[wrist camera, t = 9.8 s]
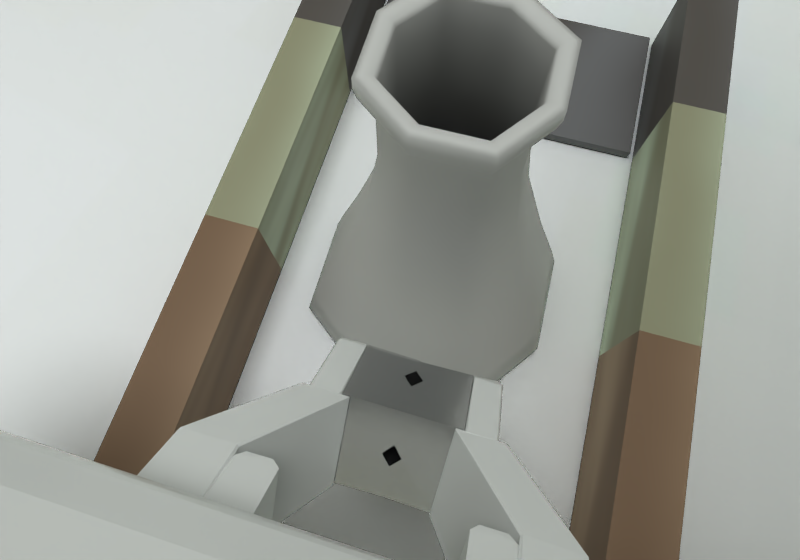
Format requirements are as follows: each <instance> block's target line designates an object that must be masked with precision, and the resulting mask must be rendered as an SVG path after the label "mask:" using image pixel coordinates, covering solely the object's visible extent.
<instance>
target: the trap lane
mask: <svg viewBox="0 0 800 560" xmlns="http://www.w3.org/2000/svg"><path fill="white" fill-rule="evenodd" d="M392 1H394V0H388V2H387V4H389V3H390V2H392ZM738 2H739V0H677V2H676V4H675V5H674V7H673V9H672V11H671V12H670V14H669V16H668V18H667V19H666V21H665V23H664V25H663V27H662V28H661V30H660V32H659V34H658V35H657V37H656V39H655V41H654V42H653V44H652V47H651V53H650V59H649V65H648V71H647V77H646V83H645V89H644V95H643V101H642V106H641V112H640V118H639V124H638V130H637V136H636V142H635V148H634V154H633V159H632V165H631V171H630V177H629V183H628V189H627V195H626V201H625V207H624V213H623V218H622V224H621V230H620V236H619V242H618V248H617V254H616V260H615V266H614V271H613V277H612V283H611V289H610V295H609V301H608V307H607V313H606V319H605V325H604V330H603V336H602V342H601V348H600V354H599V360H598V366H597V372H596V378H595V383H594V389H593V395H592V401H591V407H590V413H589V419H588V425H587V431H586V437H585V442H584V448H583V454H582V460H581V466H580V472H579V478H578V484H577V490H576V495H575V501H574V507H573V513H572V519H571V525H570V532H571V533H572V535H573V536H574V537H575V539H576V540H577V542H578V543H579V544H580V546H581V547H582V549H583V550H584V551H585V553H586V554H587V555H588V557H589V560H679V552H680V543H681V534H682V524H683V515H684V506H685V496H686V487H687V478H688V468H689V459H690V450H691V440H692V431H693V422H694V412H695V403H696V394H697V384H698V375H699V366H700V356H701V347H702V338H703V328H704V319H705V310H706V300H707V291H708V282H709V272H710V263H711V254H712V244H713V235H714V226H715V216H716V207H717V198H718V188H719V179H720V170H721V160H722V151H723V142H724V132H725V123H726V114H727V104H728V95H729V86H730V76H731V67H732V58H733V48H734V39H735V30H736V20H737V11H738ZM384 3H385V0H302V1H301V4H300V6H299V8H298V10H297V13H296V15H295V17H294V19H293V21H292V24H291V26H290V28H289V30H288V32H287V35H286V37H285V39H284V41H283V44H282V46H281V48H280V50H279V52H278V55H277V57H276V59H275V61H274V63H273V66H272V68H271V70H270V72H269V74H268V77H267V79H266V81H265V83H264V86H263V88H262V90H261V92H260V94H259V97H258V99H257V101H256V103H255V105H254V108H253V110H252V112H251V114H250V117H249V119H248V121H247V123H246V125H245V128H244V130H243V132H242V134H241V136H240V139H239V141H238V143H237V145H236V147H235V150H234V152H233V154H232V156H231V159H230V161H229V163H228V165H227V167H226V170H225V172H224V174H223V176H222V178H221V181H220V183H219V185H218V187H217V190H216V192H215V194H214V196H213V198H212V201H211V203H210V205H209V207H208V209H207V212H206V214H205V216H204V218H203V220H202V223H201V225H200V227H199V229H198V232H197V234H196V236H195V238H194V240H193V243H192V245H191V247H190V249H189V251H188V254H187V256H186V258H185V260H184V263H183V265H182V267H181V269H180V271H179V274H178V276H177V278H176V280H175V282H174V285H173V287H172V289H171V291H170V293H169V296H168V298H167V300H166V302H165V305H164V307H163V309H162V311H161V313H160V316H159V318H158V320H157V322H156V324H155V327H154V329H153V331H152V333H151V336H150V338H149V340H148V342H147V344H146V347H145V349H144V351H143V353H142V355H141V358H140V360H139V362H138V364H137V366H136V369H135V371H134V373H133V375H132V378H131V380H130V382H129V384H128V386H127V389H126V391H125V393H124V395H123V397H122V400H121V402H120V404H119V406H118V409H117V411H116V413H115V415H114V417H113V420H112V422H111V424H110V426H109V428H108V431H107V433H106V435H105V437H104V439H103V442H102V444H101V446H100V448H99V451H98V453H97V455H96V457H95V459H94V461H95V462H98V463H101V464H104V465H107V466H110V467H113V468H116V469H119V470H122V471H125V472H128V473H131V474H134V475H138V474H139V472H140V471H141V470H142V469H143V468H144V467H145V466H146V465H147V463H148V462H149V461H150V460H151V459H152V458H153V457H154V456H155V455H156V453H157V452H158V451H159V450H160V449H161V448H162V447H163V446H164V444H165V443H166V442H167V441H168V440H169V439H170V438H171V437H172V436H173V434H174V433H175V432H176V431H177V430H178V429H179V428H180V427H182V426H185V425H188V424H190V423H193V422H196V421H198V420H201V419H204V418H207V417H209V416H212V415H215V414H218V413H220V412H223V411H226V410H227V409H228V407H229V404H230V401H231V399H232V396H233V394H234V391H235V388H236V386H237V383H238V381H239V378H240V376H241V373H242V370H243V368H244V365H245V363H246V360H247V357H248V355H249V352H250V350H251V347H252V344H253V342H254V339H255V337H256V334H257V331H258V329H259V326H260V324H261V321H262V319H263V316H264V313H265V311H266V308H267V306H268V303H269V300H270V298H271V295H272V293H273V290H274V287H275V285H276V282H277V280H278V277H279V275H280V272H281V269H282V267H283V264H284V262H285V259H286V256H287V254H288V251H289V249H290V246H291V243H292V241H293V238H294V236H295V233H296V231H297V228H298V225H299V223H300V220H301V218H302V215H303V212H304V210H305V207H306V205H307V202H308V199H309V197H310V194H311V192H312V189H313V186H314V184H315V181H316V179H317V176H318V174H319V171H320V168H321V166H322V163H323V161H324V158H325V155H326V153H327V150H328V148H329V145H330V142H331V140H332V137H333V135H334V132H335V130H336V127H337V124H338V122H339V119H340V117H341V114H342V111H343V109H344V106H345V104H346V101H347V98H348V96H349V93H350V91H351V88H352V81H351V78H352V75H353V72H354V70H355V67H356V64H357V61H358V59H359V56H360V53H361V51H362V48H363V45H364V43H365V40H366V37H367V35H368V32H369V29H370V27H371V24H372V21H373V19H374V16H375V13H376V11H377V10H379V9H380V8H382V7H383V5H384ZM558 19H559V18H558ZM559 20H560V21H561V22H562V23H563V24H564V25H565V26H567V27H568V28H569V29H570V30H571V31H572V32H573V33H574V34H575V35H577V36H578V37H579V38H580V39H581V40H582V42H581V47H580V52H579V56H578V61H577V66H576V71H575V76H574V80H573V85H572V90H571V95H570V100H569V104H568V109H567V113H566V115H565V118H564V121H563V122H562V123H561V124H560V125H559V126H558V127H557V128H556V129H555V130H554V131H553V132H551V133H550V134H548V135H547V136H546V137H544V138H546V139H550V140H554V141H558V142H563V143H567V144H571V145H575V146H580V147H584V148H588V149H592V150H596V151H601V152H605V153H609V154H613V155H618V156H622V157H626V158H627V156H628V155H629V153H630V150H631V144H632V138H633V132H634V127H635V121H636V115H637V109H638V103H639V98H640V92H641V86H642V80H643V74H644V69H645V63H646V57H647V51H648V45H649V40H650V38H648V37H643V36H639V35H634V34H629V33H625V32H620V31H615V30H611V29H606V28H601V27H596V26H592V25H587V24H582V23H578V22H573V21H568V20H564V19H559Z"/></svg>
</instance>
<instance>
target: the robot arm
mask: <svg viewBox="0 0 800 560" xmlns="http://www.w3.org/2000/svg"><path fill="white" fill-rule="evenodd" d="M502 390H503V385H502V383H501V382H499V381H495V380H491V379H487V378H483V377H479V376H475V375H474V377H473V375H470V374H466V373H462V372H458V371H454V370H451V369H447V368H443V367H439V366H435V365H431V364H428V363H424V362H420V360H417V359H413V358H410V357H407V356H404V355H400V354H397V353H394V352H391V351H387V350H384V349H381V348H378V347H374V346H371V345H367V344H365V343H362V342H358V341H354V340H351V339H347V338H343V337H342V338H340V339H339V340H338V341H337V342H336V344H335V345H334V347H333V349H332V350H331V352H330V353H329V355H328V357H327V358H326V360H325V361H324V363H323V364H322V366H321V368H320V369H319V371H318V372H317V374H316V376H315V377H314V379H313V380H312V382H311V384H310V385H309V384H305V383H300V384H297V385H294V386H291V387H289V388H286V389H283V390H281V391H278V392H275V393H272V394H270V395H267V396H264V397H261V398H259V399H256V400H253V401H250V402H248V403H245V404H242V405H240V406H237V407H234V408H231V409H229V410H226V411H223V412H220V413H218V414H215V415H212V416H209V417H207V418H204V419H201V420H198V421H196V422H193V423H190V424H188V425H185V426H182V427H180V428H179V429H178V430H177V431H176V432H175V433H174V434H173V436H172V437H171V438H170V439H169V440H168V441H167V442H166V443H165V444H164V446H163V447H162V448H161V449H160V450H159V451H158V452H157V453H156V455H155V456H154V457H153V458H152V459H151V460H150V461H149V462H148V463H147V465H146V466H145V467H144V468H143V469H142V470H141V471H140V472H139V474H138V475H134V474H131V473H128V472H125V471H122V470H119V469H116V468H113V467H110V466H107V465H104V464H101V463H98V462H95V461H92V460H89V459H86V458H83V457H80V456H77V455H73V454H70V453H67V452H64V451H61V450H58V449H55V448H52V447H49V446H46V445H43V444H40V443H37V442H34V441H31V440H28V439H25V438H22V437H19V436H16V435H13V434H10V433H7V432H4V431H1V430H0V560H393V559H390V558H387V557H384V556H381V555H378V554H375V553H372V552H369V551H366V550H363V549H360V548H357V547H354V546H351V545H347V544H344V543H341V542H338V541H335V540H332V539H329V538H326V537H323V536H320V535H317V534H314V533H311V532H308V531H305V530H302V529H299V528H295V527H292V526H289V525H286V524H283V523H280V522H281V521H283V520H284V519H286V518H287V517H289V516H290V515H291V514H293V513H294V512H296V511H297V510H299V509H300V508H301V507H303V506H304V505H306V504H307V503H309V502H310V501H311V500H313V499H314V498H316V497H317V496H319V495H320V494H321V493H323V492H324V491H326V490H327V489H329V488H330V487H331V486H333V483H336V484H340V485H343V486H347V487H350V488H354V489H357V490H361V491H364V492H368V493H371V494H375V495H378V496H382V497H385V498H387V499H390V500H393V501H396V502H399V503H402V504H405V505H408V506H410V507H413V508H416V509H419V510H422V511H425V512H428V513H430V515H429V516H430V519H431V521H432V524H433V527H434V530H435V532H436V535H437V538H438V540H439V543H440V546H441V548H442V551H443V554H444V557H445V559H446V560H589V557H588V555H587V554H586V553H585V551H584V550H583V549H582V547H581V546H580V544H579V543H578V542H577V540H576V539H575V537H574V536H573V535H572V533H571V532H570V531H569V529H568V528H567V526H566V525H565V524H564V522H563V521H562V519H561V518H560V517H559V515H558V514H557V512H556V511H555V510H554V508H553V507H552V506H551V504H550V503H549V501H548V500H547V499H546V497H545V496H544V494H543V493H542V492H541V490H540V489H539V488H538V486H537V485H536V483H535V482H534V481H533V479H532V478H531V476H530V475H529V474H528V472H527V471H526V469H525V468H524V467H523V465H522V464H521V463H520V461H519V460H518V458H517V457H516V456H515V454H514V453H513V451H512V450H511V449H510V447H509V446H508V445H507V444H506V443H503V442H500V441H499V430H500V417H501V403H502Z"/></svg>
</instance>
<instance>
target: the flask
mask: <svg viewBox="0 0 800 560" xmlns="http://www.w3.org/2000/svg"><path fill="white" fill-rule="evenodd" d="M581 42H582V40H581V39H580V38H579V37H578V36H577V35H575V34H574V33H573V32H572V31H571V30H570V29H569V28H568V27H567V26H565V25H564V24H563V23H562V22H561V21H560V20H559V19H558V18H557V17H555V16H554V15H553V14H552V13H551V12H550V11H549V10H548V9H546V8H545V7H544V6H543V5H542V4H541V3H540V2H539V1H538V0H394V1H392V2H390V3H389V4H387V5H385V6H384V7H382V8H380V9H379V10H377V11H376V13H375V16H374V19H373V21H372V24H371V27H370V29H369V32H368V35H367V37H366V40H365V43H364V45H363V48H362V51H361V53H360V56H359V59H358V61H357V64H356V67H355V70H354V72H353V75H352V78H351V81H352V90H353V92H354V94H355V96H356V98H357V99H358V100H359V101H360V102H361V104H362V105H363V106H364V107H365V108H366V109H367V110H368V111H369V112H370V114H371V115H372V116H373V117H374V118H375V119H376V131H377V152H378V155H377V159H376V163H375V167H374V169H373V171H372V172H371V174H370V176H369V178H368V179H367V181H366V183H365V184H364V186H363V188H362V190H361V191H360V193H359V194H358V196H357V197H356V198H355V200H354V201H353V203H352V204H351V205H350V207H349V208H348V210H347V211H346V212H345V214H344V215H343V217H342V218H341V220H340V222H339V223H338V226H337V229H336V231H335V234H334V237H333V240H332V243H331V246H330V249H329V252H328V255H327V257H326V260H325V263H324V266H323V269H322V272H321V275H320V278H319V281H318V283H317V286H316V289H315V292H314V295H313V298H312V301H311V304H310V307H309V308H310V309H311V310H312V312H313V313H314V314H315V316H316V317H317V318H318V320H319V321H320V322H321V324H322V325H323V326H324V328H325V329H326V330H327V332H328V333H329V334H330V336H331V337H332V338H333V340H334V341H335V342H337V341H338V340H339V339H340V338H342V337H343V338H347V339H351V340H354V341H358V342H362V343H365V344H367V345H371V346H374V347H378V348H381V349H384V350H387V351H391V352H394V353H397V354H400V355H404V356H407V357H410V358H413V359H417V360H420V362H424V363H428V364H431V365H435V366H439V367H443V368H447V369H451V370H454V371H458V372H462V373H466V374H470V375H473V377H474V375H475V376H479V377H483V378H487V379H491V380H495V381H498V380H499V379H500V378H502V377H503V376H504V375H505V374H506V373H508V372H509V371H510V370H511V369H513V368H514V367H515V366H516V365H518V364H519V363H520V362H521V361H522V360H524V359H525V358H526V357H527V356H529V355H530V354H531V353H532V352H534V351H535V350H536V349H537V347H538V342H539V337H540V332H541V327H542V321H543V316H544V311H545V306H546V301H547V296H548V291H549V286H550V281H551V276H552V271H553V265H554V258H553V254H552V251H551V248H550V246H549V243H548V240H547V238H546V235H545V232H544V230H543V227H542V224H541V221H540V218H539V214H538V210H537V206H536V202H535V198H534V195H533V191H532V187H531V183H530V179H529V163H530V149H531V146H533V145H534V144H536V143H537V142H539V141H540V140H541V139H543V138H544V137H546V136H547V135H548V134H550V133H551V132H553V131H554V130H555V129H556V128H557V127H558V126H559V125H560V124H561V123H562V122H563V121H564V118H565V115H566V113H567V109H568V104H569V100H570V95H571V90H572V85H573V80H574V76H575V71H576V66H577V61H578V56H579V52H580V47H581Z"/></svg>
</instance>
